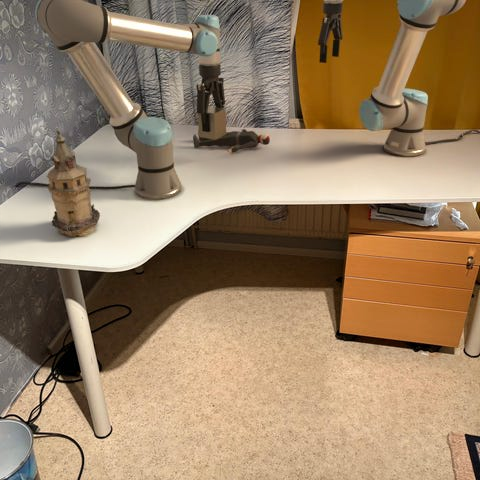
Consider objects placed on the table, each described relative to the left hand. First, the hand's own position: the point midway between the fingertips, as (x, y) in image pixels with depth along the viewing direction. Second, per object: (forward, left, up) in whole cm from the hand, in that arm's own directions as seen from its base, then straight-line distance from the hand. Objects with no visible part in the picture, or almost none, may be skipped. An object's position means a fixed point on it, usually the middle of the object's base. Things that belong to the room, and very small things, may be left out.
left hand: (212, 128), depth 195 cm
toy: (+9, +15, -13) cm, 21 cm away
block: (0, 0, -3) cm, 3 cm away
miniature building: (-42, -50, -13) cm, 66 cm away
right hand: (+50, +30, +17) cm, 60 cm away
